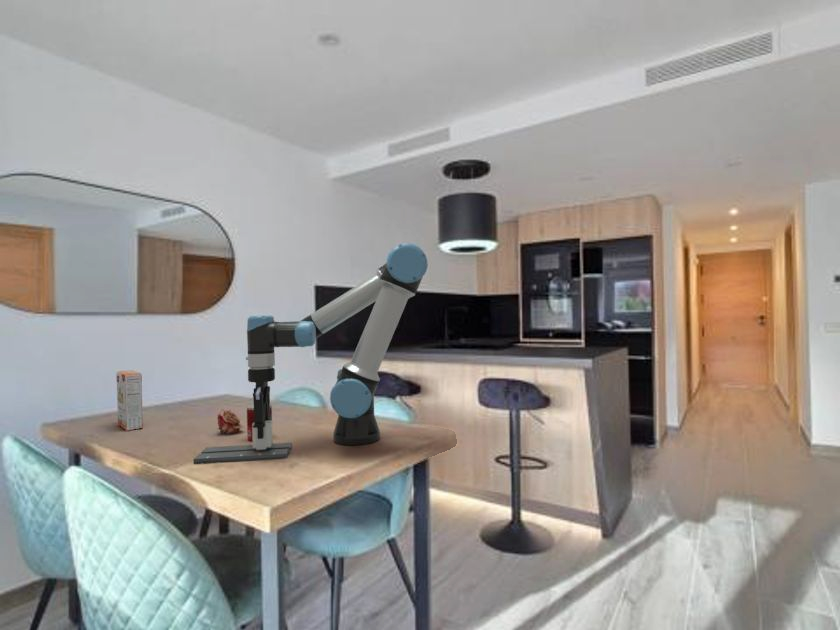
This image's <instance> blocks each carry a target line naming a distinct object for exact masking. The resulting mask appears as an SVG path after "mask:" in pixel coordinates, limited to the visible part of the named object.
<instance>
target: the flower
mask: <svg viewBox="0 0 840 630" xmlns="http://www.w3.org/2000/svg"><path fill="white" fill-rule="evenodd" d="M241 421H242V419H241V418H240V416H239V415H238V414H237V413H235V411H232V410H225V409H221V410H220V412H219V413H218V415H217V424H218V430H219V432H220V434H222V433H223V432H224V433H225V434H227V435H230V433H233V432H235V431H236V432H237V431H238V432H239V431H240V429H242V428H244V426H243V425H242V424H241Z"/></svg>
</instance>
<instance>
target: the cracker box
mask: <svg viewBox="0 0 840 630" xmlns="http://www.w3.org/2000/svg"><path fill="white" fill-rule="evenodd" d="M142 375H143V374H142V373H141V372H137V371H135V370H121V371H116V398H117V399H116V400H117V405H116V406H117V424H118V426H119V427H120V426H121V428H122V429H123V430H124V429H125V430H126V431H125V432H128V431H127V430H131V431H135V430H134V429H136V430H141V429H140V428H142V429H143V428H144V422H143V421H144V420H143V419H144V418H143V385H142V383H143V380H142V378H143V377H142Z"/></svg>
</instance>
